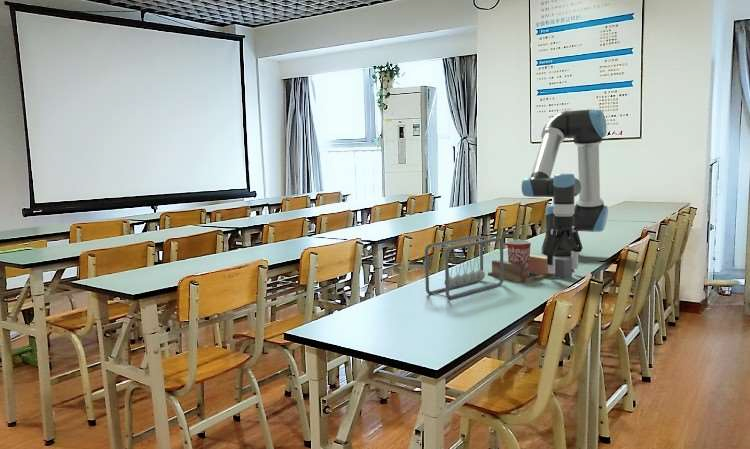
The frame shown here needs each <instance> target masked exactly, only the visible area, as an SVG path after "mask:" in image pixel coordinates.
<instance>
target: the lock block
mask: <svg viewBox="0 0 750 449" xmlns="http://www.w3.org/2000/svg"><path fill="white" fill-rule="evenodd" d="M572 269H573V268H572V259H571V257H570V258H567V257H557V258H555V276H554V278H558V279H563V280H566V279H569V278H572V277H573V272H572Z"/></svg>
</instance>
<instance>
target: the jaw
mask: <svg viewBox="0 0 750 449" xmlns="http://www.w3.org/2000/svg"><path fill="white" fill-rule="evenodd" d="M529 274H535V275H538V276H540V275H544V274H549V273H548V264H547V256H545V255H536V254H531V253H530V260H529Z"/></svg>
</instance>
